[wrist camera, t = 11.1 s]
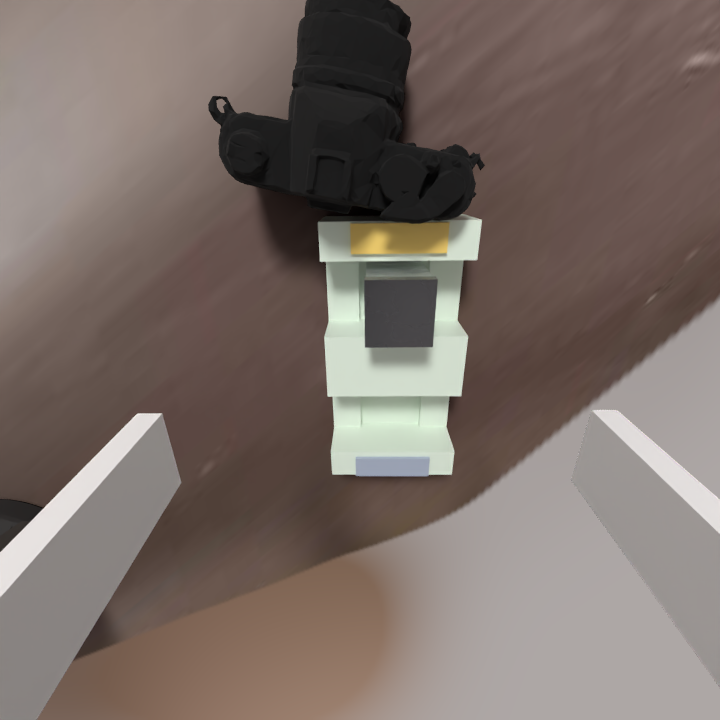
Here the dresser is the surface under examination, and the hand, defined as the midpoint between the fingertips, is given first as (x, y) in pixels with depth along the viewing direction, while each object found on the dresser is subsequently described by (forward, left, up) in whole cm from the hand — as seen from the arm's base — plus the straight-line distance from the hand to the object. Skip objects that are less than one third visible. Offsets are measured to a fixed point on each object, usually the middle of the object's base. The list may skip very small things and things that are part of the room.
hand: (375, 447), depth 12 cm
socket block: (+2, -4, -19) cm, 20 cm away
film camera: (-1, +11, -20) cm, 22 cm away
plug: (+2, 0, -19) cm, 19 cm away
